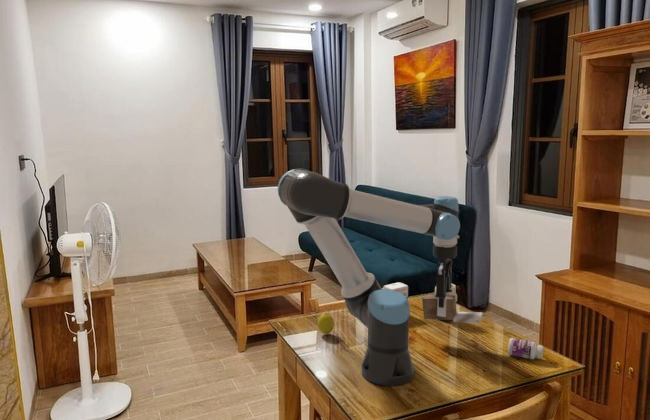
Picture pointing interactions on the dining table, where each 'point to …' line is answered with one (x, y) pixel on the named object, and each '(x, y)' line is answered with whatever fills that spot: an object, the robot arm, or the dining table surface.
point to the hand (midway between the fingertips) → (443, 313)
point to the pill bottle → (524, 349)
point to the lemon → (325, 323)
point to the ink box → (397, 288)
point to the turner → (448, 310)
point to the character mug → (452, 291)
